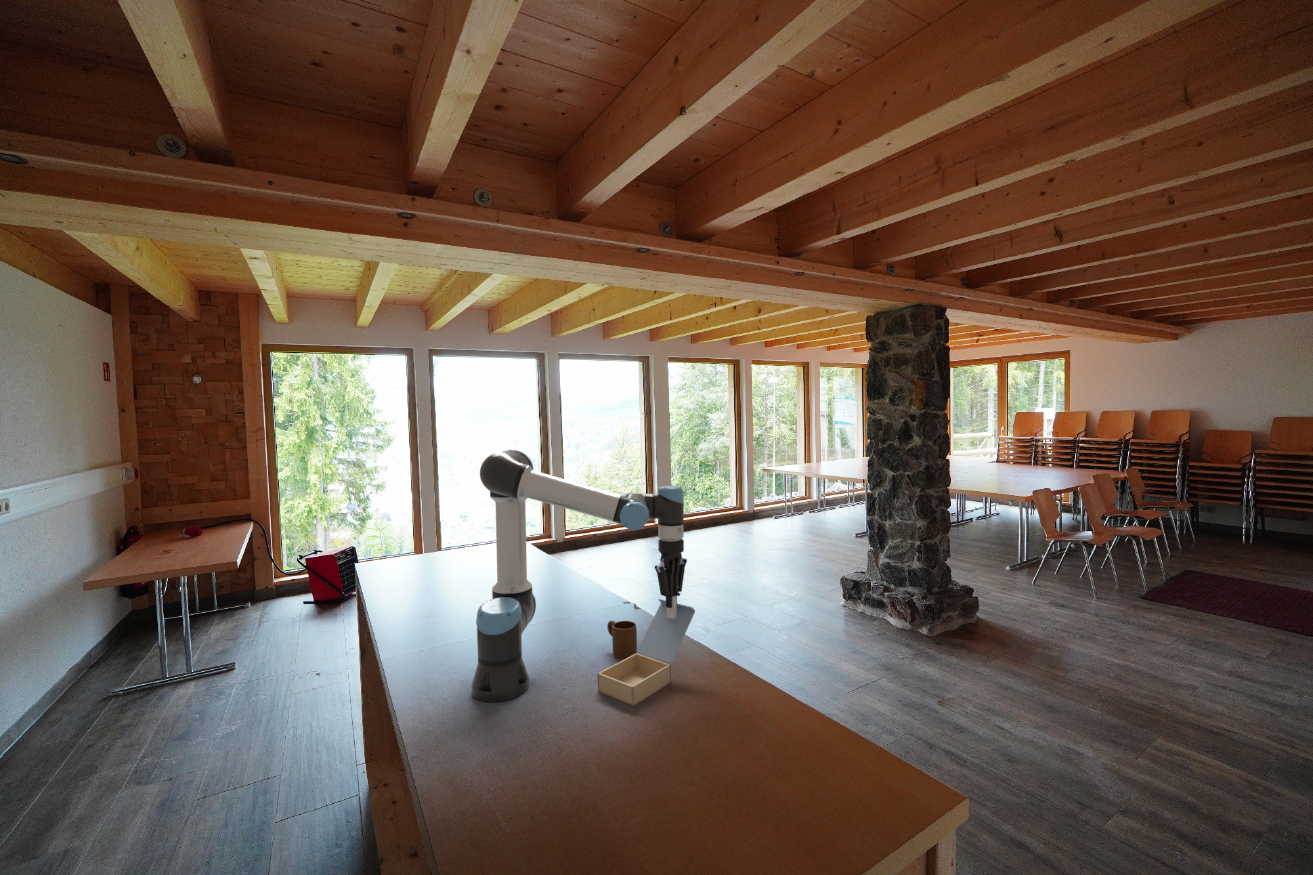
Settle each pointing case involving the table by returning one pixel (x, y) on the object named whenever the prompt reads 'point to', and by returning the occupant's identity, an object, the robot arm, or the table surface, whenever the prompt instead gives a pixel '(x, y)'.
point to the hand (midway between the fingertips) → (671, 617)
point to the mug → (623, 638)
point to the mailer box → (634, 679)
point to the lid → (666, 633)
